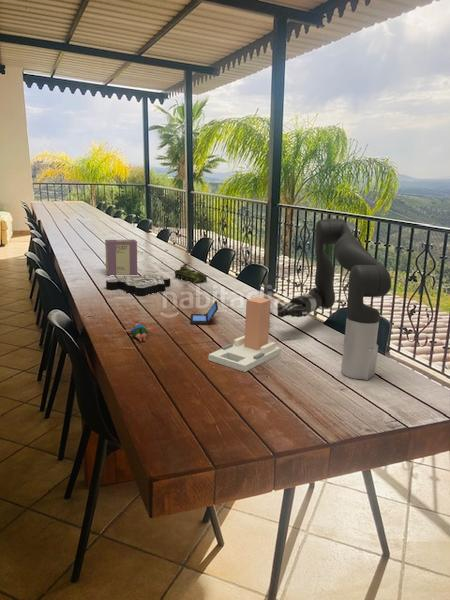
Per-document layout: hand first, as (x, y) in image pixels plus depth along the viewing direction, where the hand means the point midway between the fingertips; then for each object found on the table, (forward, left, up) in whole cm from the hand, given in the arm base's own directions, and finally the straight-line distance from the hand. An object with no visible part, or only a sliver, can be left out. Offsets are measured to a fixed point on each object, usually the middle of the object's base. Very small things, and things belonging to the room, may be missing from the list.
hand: (279, 314), depth 164 cm
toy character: (+41, +29, -11) cm, 51 cm away
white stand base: (0, +20, -10) cm, 23 cm away
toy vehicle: (+92, -58, -11) cm, 109 cm away
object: (+36, -1, -11) cm, 37 cm away
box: (+130, -39, -10) cm, 136 cm away
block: (0, +14, -8) cm, 17 cm away
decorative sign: (+96, -24, -11) cm, 99 cm away
